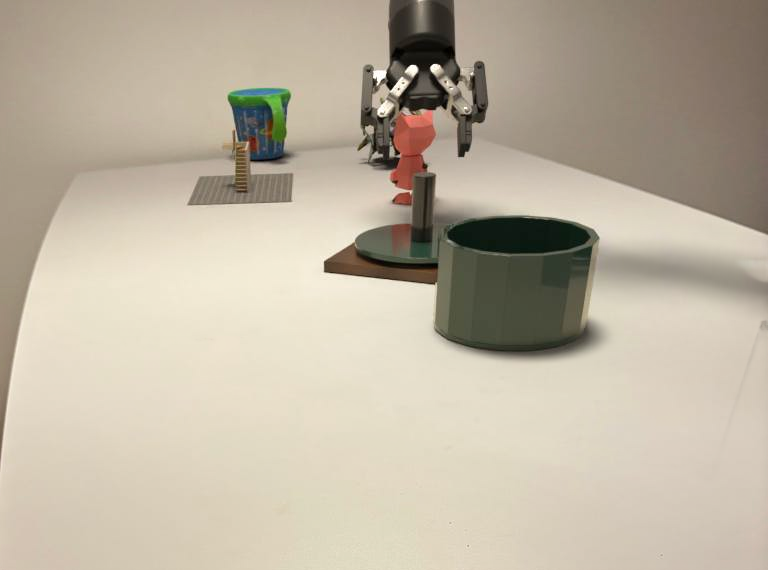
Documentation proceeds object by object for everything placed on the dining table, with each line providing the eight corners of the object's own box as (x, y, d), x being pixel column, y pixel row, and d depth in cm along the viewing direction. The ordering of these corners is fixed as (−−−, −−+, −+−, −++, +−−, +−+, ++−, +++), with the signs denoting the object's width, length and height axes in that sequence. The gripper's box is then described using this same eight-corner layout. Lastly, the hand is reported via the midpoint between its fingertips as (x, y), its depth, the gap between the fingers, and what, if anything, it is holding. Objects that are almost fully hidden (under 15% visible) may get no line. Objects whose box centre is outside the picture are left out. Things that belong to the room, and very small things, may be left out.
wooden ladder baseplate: (187, 204, 140) (181, 144, 135) (199, 176, 155) (194, 121, 151) (291, 201, 139) (289, 140, 134) (293, 173, 155) (291, 117, 150)
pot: (599, 311, 96) (613, 222, 91) (563, 359, 86) (577, 262, 81) (461, 295, 102) (467, 210, 96) (412, 339, 91) (416, 247, 86)
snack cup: (220, 152, 171) (216, 88, 165) (275, 147, 174) (273, 83, 168) (247, 168, 160) (243, 99, 153) (305, 161, 162) (304, 94, 156)
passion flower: (411, 199, 160) (426, 143, 149) (348, 187, 160) (358, 130, 149) (419, 147, 164) (434, 89, 152) (358, 135, 164) (368, 76, 152)
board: (513, 250, 115) (515, 240, 114) (472, 288, 103) (472, 277, 103) (376, 237, 121) (377, 227, 121) (323, 271, 110) (323, 260, 109)
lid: (505, 239, 114) (512, 164, 109) (463, 275, 103) (469, 194, 98) (384, 228, 120) (386, 157, 115) (332, 261, 109) (332, 184, 104)
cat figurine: (416, 193, 140) (420, 101, 133) (445, 201, 136) (451, 106, 128) (377, 200, 138) (379, 107, 130) (405, 209, 133) (409, 112, 126)
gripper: (360, 0, 105) (362, 133, 103) (489, -5, 105) (493, 129, 102) (358, 51, 113) (360, 176, 111) (478, 47, 112) (482, 173, 110)
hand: (424, 153), depth 107 cm, fingers open, 8 cm apart
